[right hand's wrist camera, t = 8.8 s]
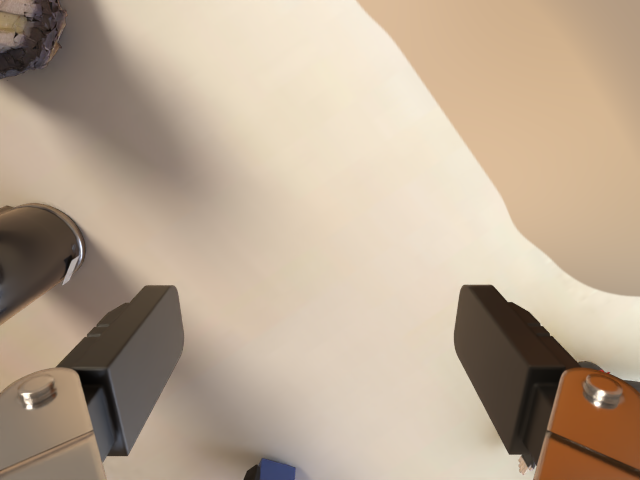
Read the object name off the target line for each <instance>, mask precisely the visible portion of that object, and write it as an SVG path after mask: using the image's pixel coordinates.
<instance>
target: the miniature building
mask: <svg viewBox="0 0 640 480" xmlns="http://www.w3.org/2000/svg"><path fill="white" fill-rule="evenodd" d="M34 1H35V2H34ZM33 2H34V3H33ZM49 2H52V4H53V12H52V11H51V8H50V5H49ZM32 3H33V4H32ZM25 4H26V5H25ZM41 5H42V6H41ZM42 7H43V10H42ZM24 12H28V13H26V14H24ZM42 13H43V15H41V14H42ZM35 14H36V15H35ZM55 14H56V15H55ZM24 15H25V16H26V17H25V16H24ZM34 15H35V16H34ZM52 15H53V16H52ZM37 16H39V17H37ZM40 16H41V18H40ZM66 16H67V12H66V9H65V10H62V8H61V7H60V2H59V0H48V2H47V0H43V1H42V0H32V1H31V0H0V49H1V50H0V79H2V78H5V77H9V76H16V75H18V74H21V73H24V72H25V71H27V70H30V69H33V70H35V69H43V68H45V67H46V66H47V64H48V63H49V62H50V61H51V59H52V58H53V56H54V55H55V53H56V52H57V50H58V49H59V48H62V47H61V46H60V45H59V44H58V41H59V39H60V37H61V34H62V32H63V29H64V27H65V26H66V24H65V17H66ZM27 17H32V18H27ZM33 17H34V18H35V19H37V20H38V21H40V22H37V21H32V20H33ZM27 19H29V20H31V21H27ZM41 19H42V20H41ZM51 19H52V20H51ZM42 23H43V24H42ZM38 28H39V29H41V30H43V31H40V30H39V29H38ZM15 29H16V31H15ZM48 29H49V30H48ZM7 31H8V32H7ZM23 31H24V32H25V33H24V32H23ZM15 32H16V33H18V35H17V36H16V37H15V38H14V36H15ZM42 33H44V34H45V35H44V34H42ZM41 39H42V40H41ZM24 41H25V42H24ZM14 42H15V43H14ZM16 42H17V43H16ZM35 46H36V48H37V49H33V48H34V47H35ZM4 47H5V48H4ZM10 47H11V48H14V49H15V50H13V49H11V48H10ZM2 48H4V49H2ZM20 48H21V49H20ZM23 49H25V51H24V50H23ZM6 51H7V52H6ZM23 51H24V52H23ZM37 51H38V52H37ZM8 52H9V53H8ZM25 52H26V53H25ZM6 53H7V54H6ZM24 53H25V54H24ZM11 55H12V56H13V57H14V58H15V59H13V58H12V56H11ZM23 55H24V56H23ZM22 56H23V57H22ZM7 81H8V80H7Z"/></svg>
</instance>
